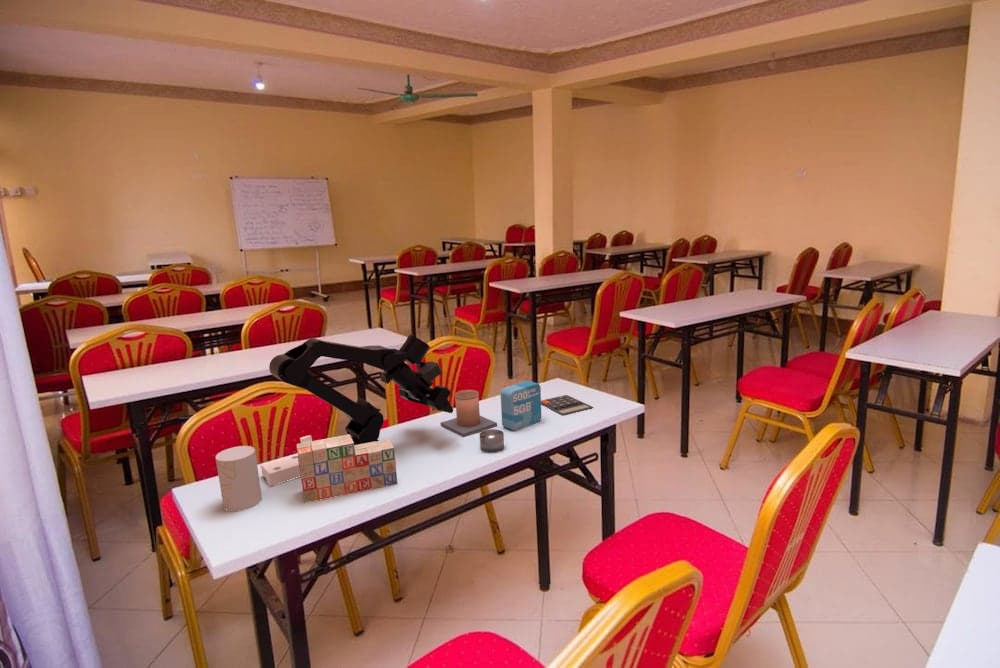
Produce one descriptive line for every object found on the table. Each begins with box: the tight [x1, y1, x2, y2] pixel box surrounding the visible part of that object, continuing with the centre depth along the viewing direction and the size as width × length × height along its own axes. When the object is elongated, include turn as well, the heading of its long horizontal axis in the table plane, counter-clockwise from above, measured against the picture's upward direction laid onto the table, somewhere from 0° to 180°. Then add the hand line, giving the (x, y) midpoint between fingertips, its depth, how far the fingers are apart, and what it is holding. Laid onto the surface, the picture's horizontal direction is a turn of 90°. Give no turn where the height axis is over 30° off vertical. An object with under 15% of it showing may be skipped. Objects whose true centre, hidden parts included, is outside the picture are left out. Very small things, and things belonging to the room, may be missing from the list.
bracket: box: [260, 435, 313, 487], centre depth 148 cm, size 13×7×8 cm, turn 128°
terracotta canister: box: [454, 389, 481, 427], centre depth 174 cm, size 7×7×9 cm
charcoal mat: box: [440, 415, 498, 438], centre depth 175 cm, size 12×12×1 cm
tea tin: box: [479, 428, 505, 454], centre depth 158 cm, size 6×6×4 cm
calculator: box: [541, 394, 594, 416], centre depth 189 cm, size 12×1×15 cm
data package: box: [500, 380, 542, 432], centre depth 173 cm, size 12×4×12 cm, turn 131°
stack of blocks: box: [296, 434, 398, 503], centre depth 139 cm, size 21×6×12 cm, turn 111°
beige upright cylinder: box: [215, 445, 263, 512], centre depth 134 cm, size 8×8×12 cm
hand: (442, 408), depth 169 cm, fingers open, 9 cm apart
